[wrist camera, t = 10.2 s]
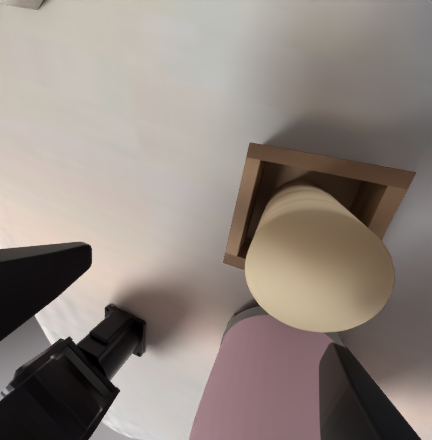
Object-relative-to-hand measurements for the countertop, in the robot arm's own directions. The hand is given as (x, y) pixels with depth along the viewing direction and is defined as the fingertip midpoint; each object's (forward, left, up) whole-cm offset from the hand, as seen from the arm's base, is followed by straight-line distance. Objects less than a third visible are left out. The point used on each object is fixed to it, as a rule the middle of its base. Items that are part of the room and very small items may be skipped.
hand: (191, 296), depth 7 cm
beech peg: (+1, -4, -12) cm, 13 cm away
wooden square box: (+1, -4, -13) cm, 13 cm away
